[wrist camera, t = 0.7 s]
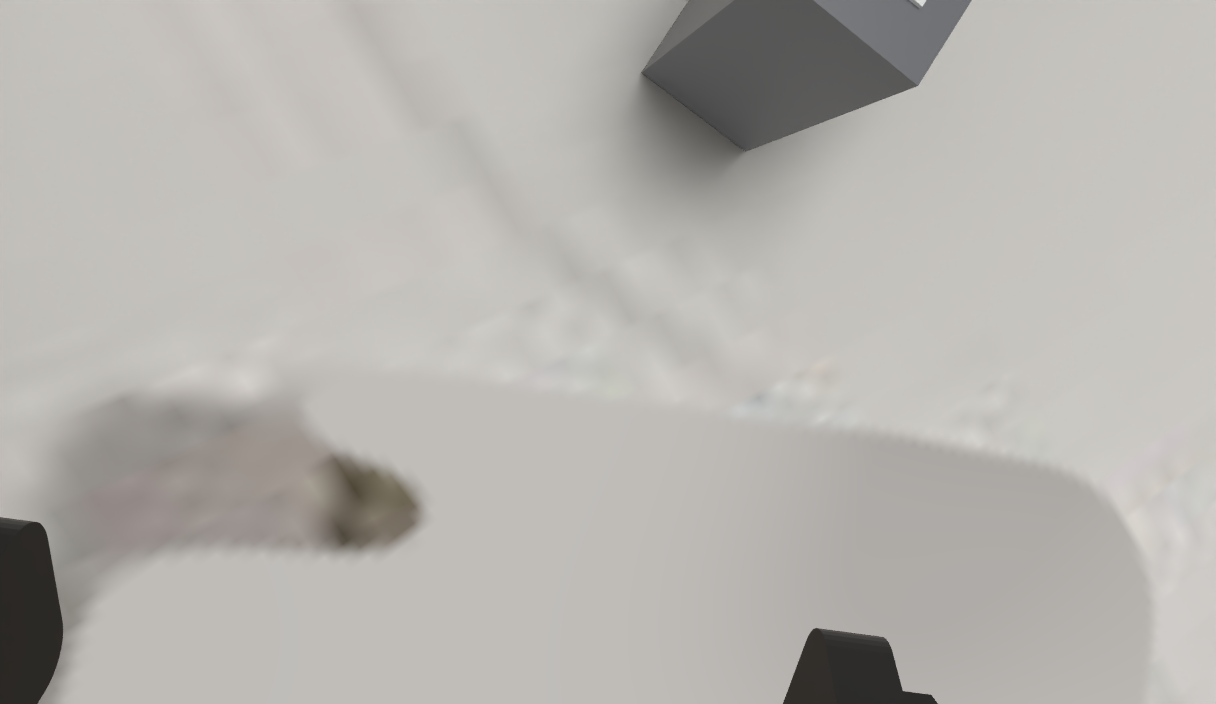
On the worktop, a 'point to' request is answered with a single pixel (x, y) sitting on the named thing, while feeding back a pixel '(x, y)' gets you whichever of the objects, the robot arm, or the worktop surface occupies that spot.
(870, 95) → the block
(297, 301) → the worktop surface
